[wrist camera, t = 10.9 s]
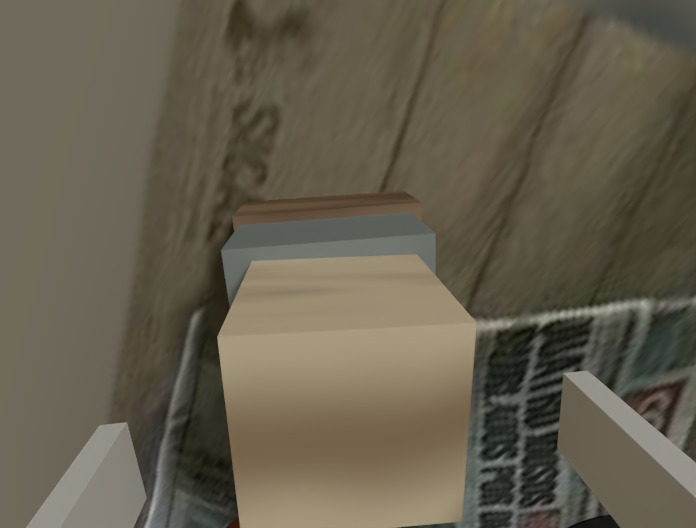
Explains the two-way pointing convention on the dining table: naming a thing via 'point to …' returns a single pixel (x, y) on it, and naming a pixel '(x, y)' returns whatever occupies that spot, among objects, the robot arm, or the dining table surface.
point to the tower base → (326, 208)
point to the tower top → (325, 242)
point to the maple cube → (347, 393)
